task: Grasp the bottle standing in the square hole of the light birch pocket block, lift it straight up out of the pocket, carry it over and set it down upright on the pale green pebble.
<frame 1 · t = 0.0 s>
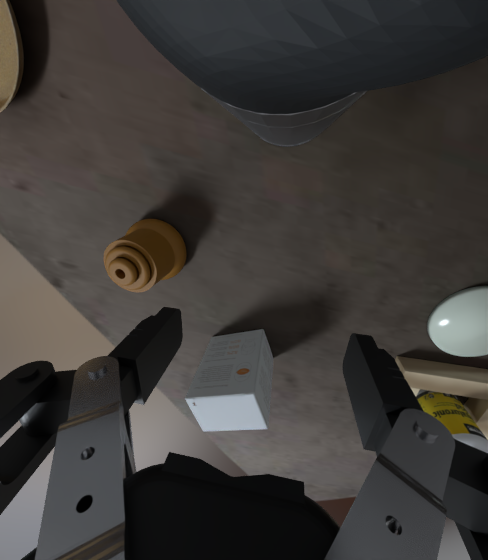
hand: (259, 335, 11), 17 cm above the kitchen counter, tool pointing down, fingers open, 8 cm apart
supplement bottle: (431, 397, 33), resting in pocket block
pocket block: (431, 398, 33), on the kitchen counter
small box: (243, 346, 35), on the kitchen counter
ornamental finial: (161, 246, 30), on the kitchen counter
pale green pebble: (472, 321, 27), on the kitchen counter
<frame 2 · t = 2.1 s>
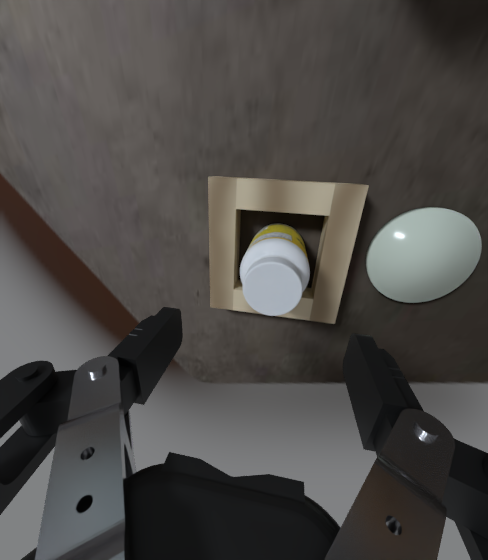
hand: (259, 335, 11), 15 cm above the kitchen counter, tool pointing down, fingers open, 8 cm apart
supplement bottle: (278, 247, 25), resting in pocket block
pocket block: (277, 248, 24), on the kitchen counter
pale green pebble: (417, 256, 22), on the kitchen counter
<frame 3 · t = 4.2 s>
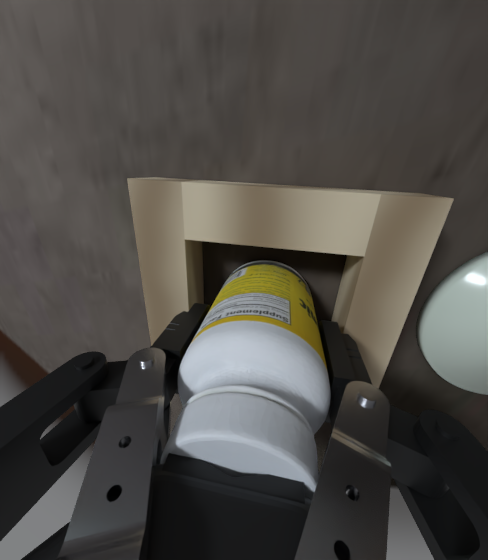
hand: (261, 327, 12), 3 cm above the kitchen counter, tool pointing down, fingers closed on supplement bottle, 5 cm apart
supplement bottle: (266, 297, 15), resting in pocket block, touching gripper
pocket block: (266, 299, 15), on the kitchen counter
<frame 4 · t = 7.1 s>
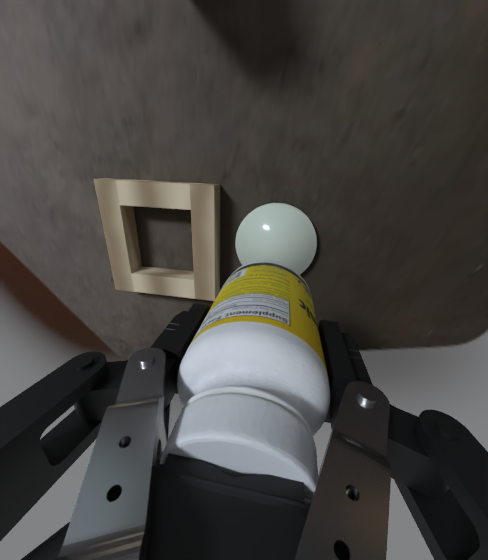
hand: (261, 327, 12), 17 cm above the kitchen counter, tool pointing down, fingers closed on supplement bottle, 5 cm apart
supplement bottle: (266, 297, 15), point 14 cm above the kitchen counter, touching gripper
pocket block: (168, 238, 29), on the kitchen counter
pale green pebble: (275, 243, 27), on the kitchen counter
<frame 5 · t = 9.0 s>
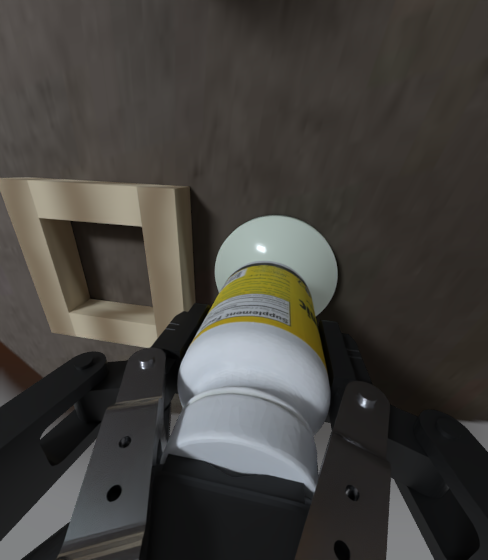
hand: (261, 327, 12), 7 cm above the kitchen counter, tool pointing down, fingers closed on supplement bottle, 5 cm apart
supplement bottle: (266, 298, 15), point 4 cm above the kitchen counter, touching gripper
pocket block: (121, 263, 20), on the kitchen counter
pale green pebble: (274, 274, 18), on the kitchen counter
when the fingers open (5 cm above the kitchen counter, at t = 10.4 s): supplement bottle drops 1 cm, resting on pale green pebble.
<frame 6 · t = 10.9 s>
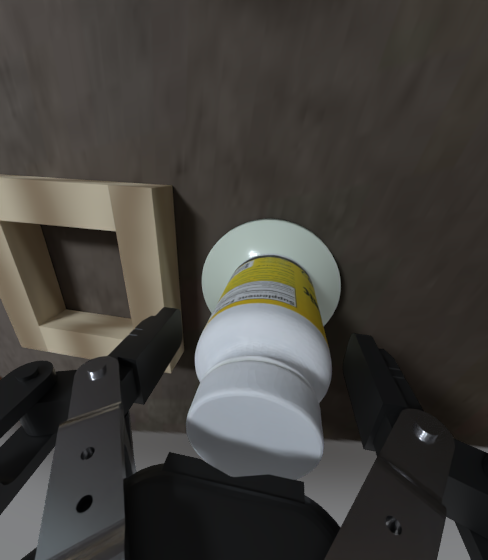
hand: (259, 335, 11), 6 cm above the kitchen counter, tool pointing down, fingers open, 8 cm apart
supplement bottle: (271, 289, 16), point 1 cm above the kitchen counter, touching pale green pebble
pocket block: (98, 271, 18), on the kitchen counter
pale green pebble: (268, 285, 16), on the kitchen counter
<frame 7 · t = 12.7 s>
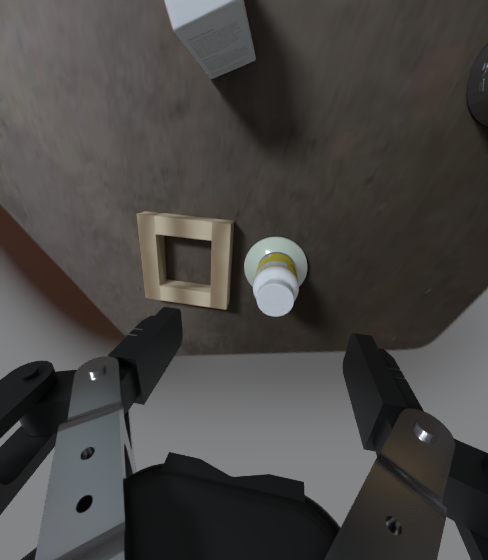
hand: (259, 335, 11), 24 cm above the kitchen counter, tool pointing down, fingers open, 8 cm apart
supplement bottle: (276, 267, 34), point 1 cm above the kitchen counter, touching pale green pebble
pocket block: (190, 259, 37), on the kitchen counter
small box: (222, 27, 25), on the kitchen counter
pale green pebble: (275, 266, 35), on the kitchen counter
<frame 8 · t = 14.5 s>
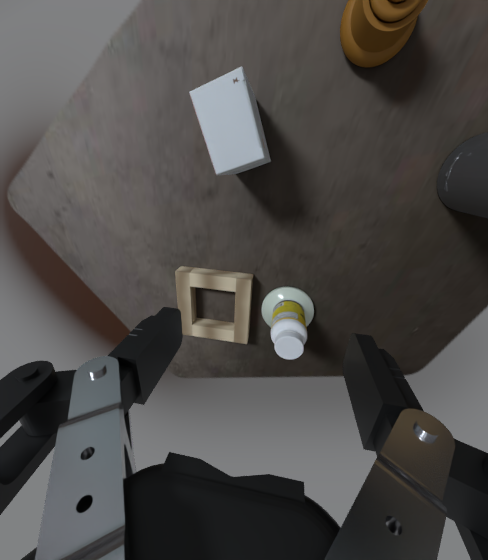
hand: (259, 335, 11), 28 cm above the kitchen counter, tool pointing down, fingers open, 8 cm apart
supplement bottle: (288, 310, 42), point 1 cm above the kitchen counter, touching pale green pebble
pocket block: (216, 302, 44), on the kitchen counter
small box: (245, 138, 33), on the kitchen counter
ornamental finial: (373, 28, 27), on the kitchen counter
pale green pebble: (287, 309, 42), on the kitchen counter
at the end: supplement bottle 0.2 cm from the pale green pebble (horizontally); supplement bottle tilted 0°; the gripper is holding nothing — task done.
